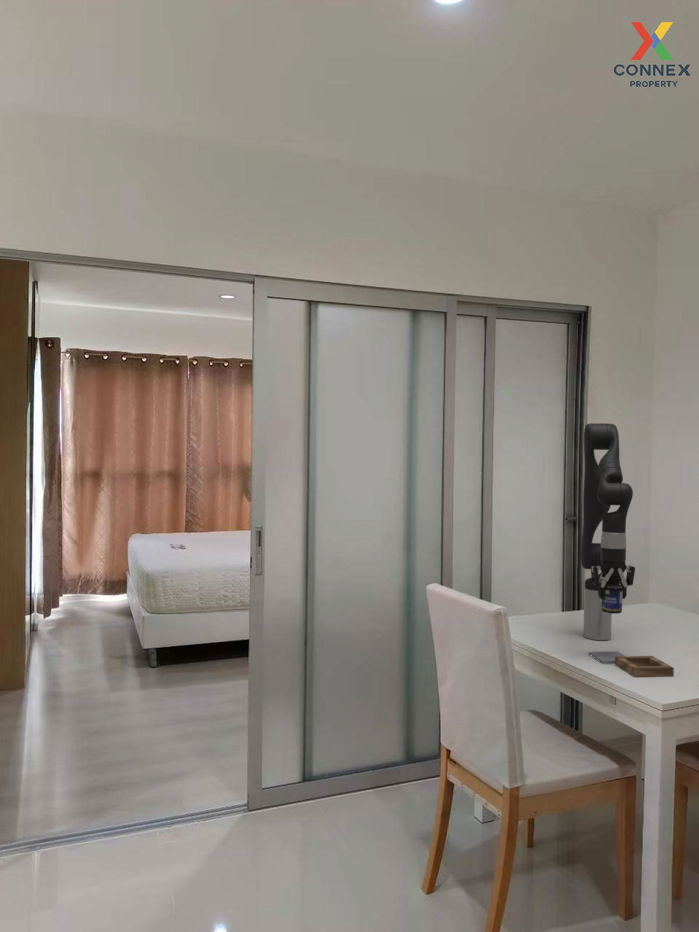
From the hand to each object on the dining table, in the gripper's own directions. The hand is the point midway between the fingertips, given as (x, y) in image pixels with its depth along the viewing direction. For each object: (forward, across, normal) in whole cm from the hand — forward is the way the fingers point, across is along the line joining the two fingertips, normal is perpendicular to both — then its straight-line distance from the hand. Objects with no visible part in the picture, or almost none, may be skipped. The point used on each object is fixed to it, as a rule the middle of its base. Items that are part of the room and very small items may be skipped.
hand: (612, 598), depth 227 cm
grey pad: (+19, 0, 0) cm, 19 cm away
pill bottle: (+4, 0, 0) cm, 4 cm away
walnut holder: (+19, -4, +12) cm, 23 cm away
